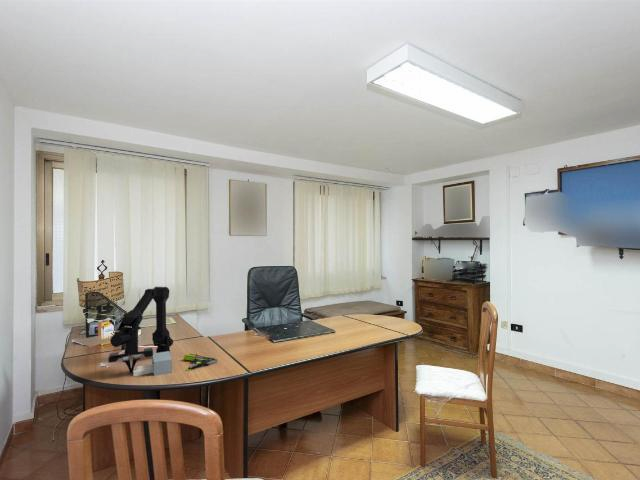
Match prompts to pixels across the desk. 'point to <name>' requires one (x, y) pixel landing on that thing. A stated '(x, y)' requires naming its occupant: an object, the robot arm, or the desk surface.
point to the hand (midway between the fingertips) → (131, 372)
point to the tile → (143, 369)
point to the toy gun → (199, 361)
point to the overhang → (162, 363)
